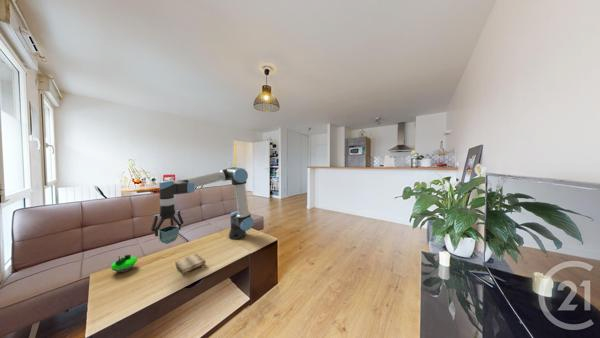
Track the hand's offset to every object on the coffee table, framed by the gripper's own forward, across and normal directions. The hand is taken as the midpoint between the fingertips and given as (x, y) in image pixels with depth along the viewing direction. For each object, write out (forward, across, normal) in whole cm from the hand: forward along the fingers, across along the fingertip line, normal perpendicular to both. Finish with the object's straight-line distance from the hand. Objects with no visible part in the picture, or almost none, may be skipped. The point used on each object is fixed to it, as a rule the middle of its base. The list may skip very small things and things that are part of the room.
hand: (168, 237), depth 118 cm
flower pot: (+3, 0, 0) cm, 3 cm away
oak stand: (+20, -8, +12) cm, 24 cm away
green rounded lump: (+20, +19, -18) cm, 32 cm away
